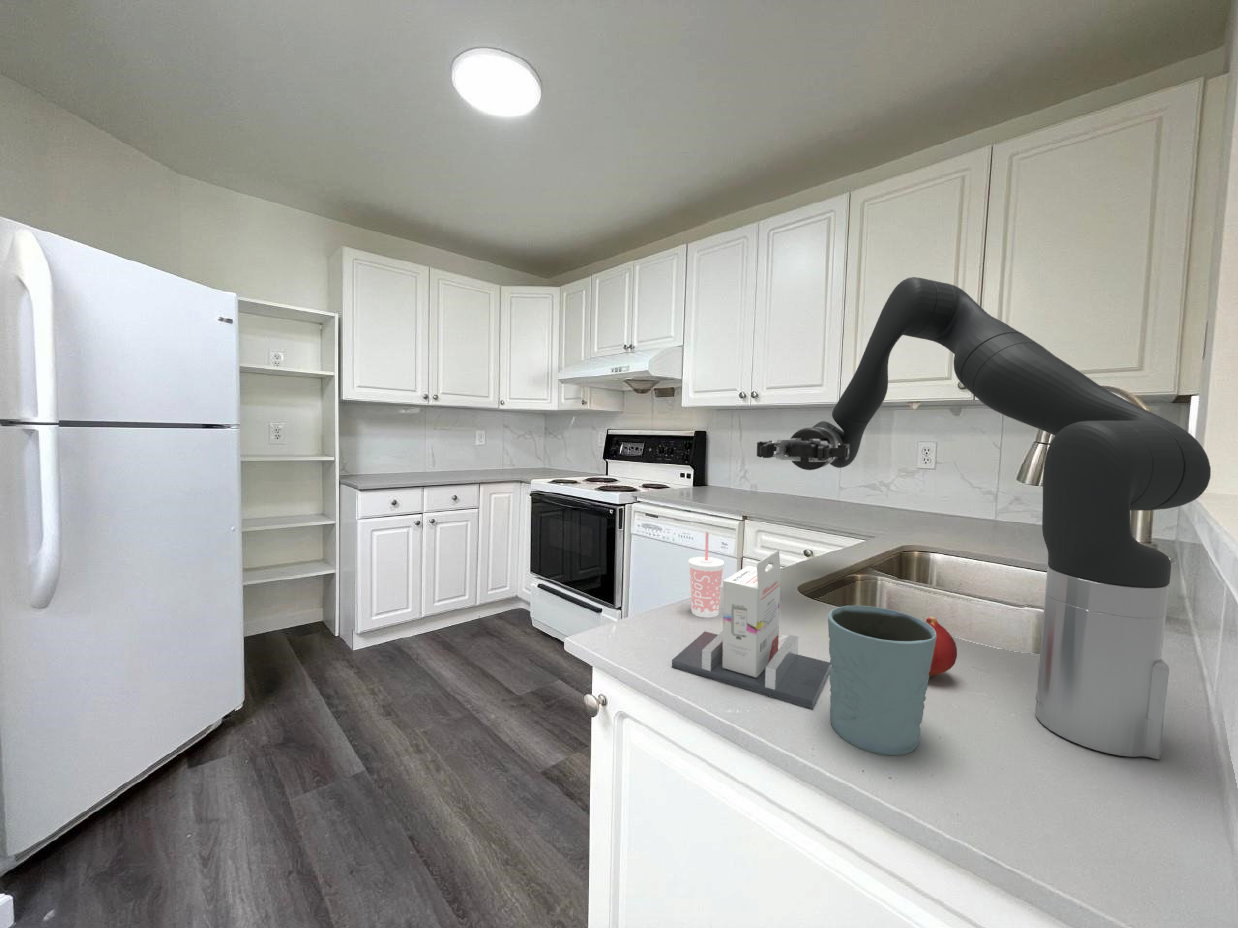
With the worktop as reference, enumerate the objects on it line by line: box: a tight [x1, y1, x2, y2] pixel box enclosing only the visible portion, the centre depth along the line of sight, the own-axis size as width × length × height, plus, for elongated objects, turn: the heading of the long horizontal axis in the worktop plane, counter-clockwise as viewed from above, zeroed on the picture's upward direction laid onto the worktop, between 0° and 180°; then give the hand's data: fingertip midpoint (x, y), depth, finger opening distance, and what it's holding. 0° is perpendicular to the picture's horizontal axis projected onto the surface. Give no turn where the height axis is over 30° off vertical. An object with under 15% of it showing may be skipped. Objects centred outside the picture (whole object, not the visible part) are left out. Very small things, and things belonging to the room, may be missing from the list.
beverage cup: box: [687, 531, 725, 619], centre depth 87 cm, size 6×6×14 cm
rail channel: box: [671, 630, 831, 710], centre depth 68 cm, size 18×11×4 cm, turn 57°
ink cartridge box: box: [722, 549, 782, 678], centre depth 67 cm, size 9×5×15 cm, turn 145°
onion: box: [925, 616, 958, 678], centre depth 66 cm, size 6×6×8 cm
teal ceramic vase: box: [827, 605, 937, 756], centre depth 54 cm, size 10×10×12 cm
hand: (791, 452), depth 80 cm, fingers open, 8 cm apart
